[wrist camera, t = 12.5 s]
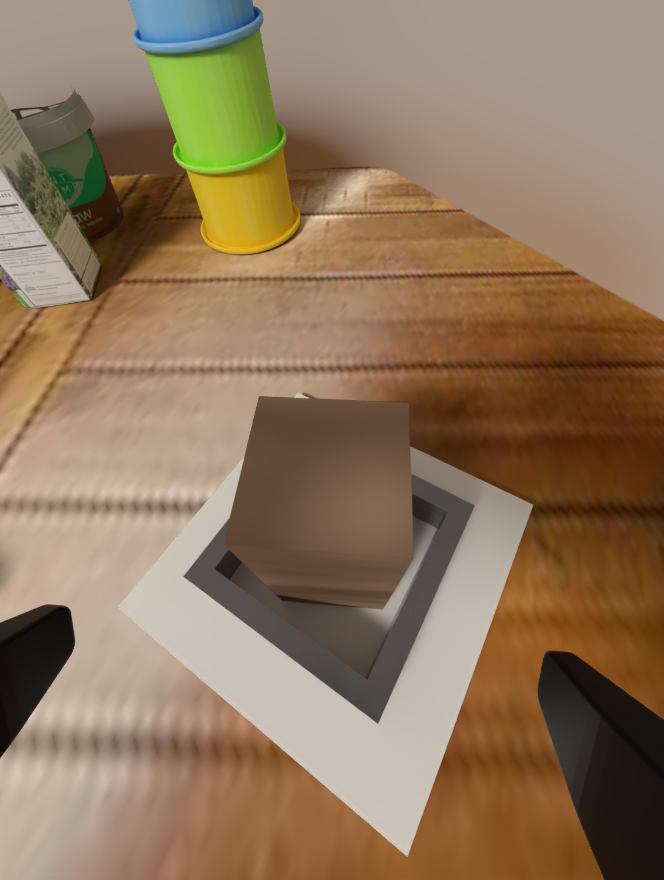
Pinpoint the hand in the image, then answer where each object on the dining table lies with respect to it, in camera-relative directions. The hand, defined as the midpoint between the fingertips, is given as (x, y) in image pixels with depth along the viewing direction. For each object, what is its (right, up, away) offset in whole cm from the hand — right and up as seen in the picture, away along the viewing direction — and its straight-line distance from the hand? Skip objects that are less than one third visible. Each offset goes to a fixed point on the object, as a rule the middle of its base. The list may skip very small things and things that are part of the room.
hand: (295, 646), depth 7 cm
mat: (+1, -2, +13) cm, 13 cm away
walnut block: (+1, -2, +12) cm, 13 cm away
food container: (-25, +26, +32) cm, 48 cm away
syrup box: (-24, +18, +27) cm, 40 cm away
